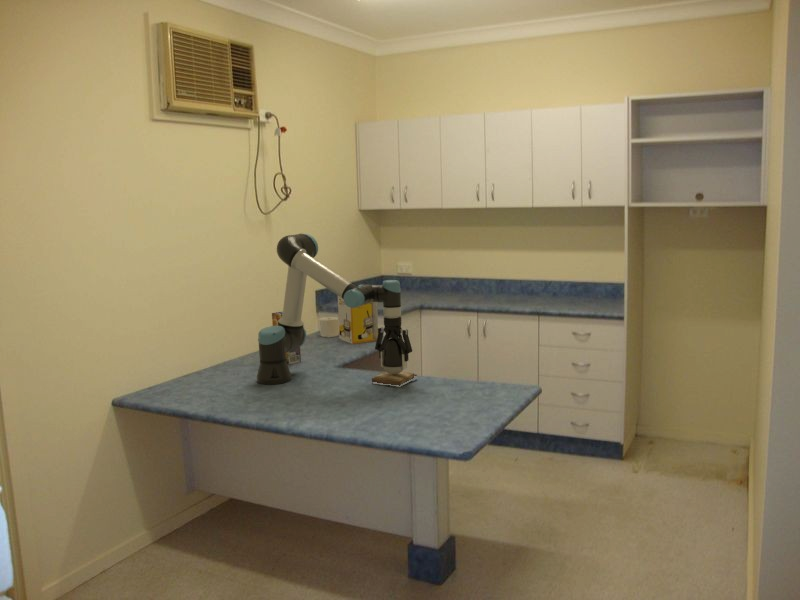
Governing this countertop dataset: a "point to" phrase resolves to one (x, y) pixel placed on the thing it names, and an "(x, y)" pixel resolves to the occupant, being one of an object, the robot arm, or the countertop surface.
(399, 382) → the stand
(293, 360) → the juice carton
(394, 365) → the pump dispenser
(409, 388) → the countertop surface
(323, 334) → the toilet tissue
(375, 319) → the packaging box
